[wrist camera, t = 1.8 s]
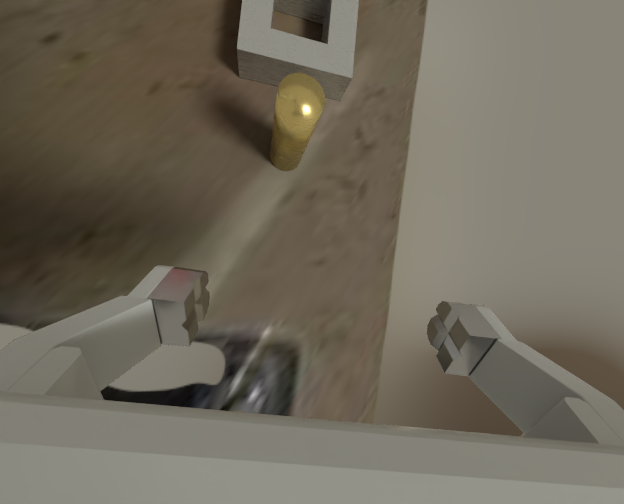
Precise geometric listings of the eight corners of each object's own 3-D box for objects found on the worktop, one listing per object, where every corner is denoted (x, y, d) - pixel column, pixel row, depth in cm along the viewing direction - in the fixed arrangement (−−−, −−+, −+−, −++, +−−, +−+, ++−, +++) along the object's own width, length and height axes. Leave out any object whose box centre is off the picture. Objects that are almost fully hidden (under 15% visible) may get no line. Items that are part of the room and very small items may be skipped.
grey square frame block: (239, 77, 29) (236, 48, 25) (250, -22, 30) (249, -65, 26) (340, 100, 32) (352, 78, 28) (348, 8, 32) (361, -27, 28)
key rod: (268, 168, 29) (275, 114, 19) (271, 137, 30) (279, 67, 19) (299, 173, 30) (322, 124, 19) (302, 143, 30) (327, 79, 20)
